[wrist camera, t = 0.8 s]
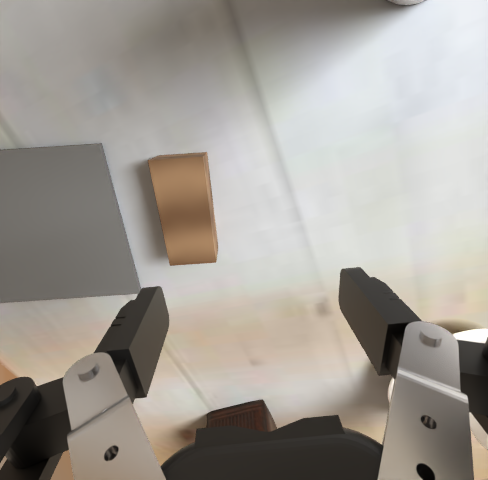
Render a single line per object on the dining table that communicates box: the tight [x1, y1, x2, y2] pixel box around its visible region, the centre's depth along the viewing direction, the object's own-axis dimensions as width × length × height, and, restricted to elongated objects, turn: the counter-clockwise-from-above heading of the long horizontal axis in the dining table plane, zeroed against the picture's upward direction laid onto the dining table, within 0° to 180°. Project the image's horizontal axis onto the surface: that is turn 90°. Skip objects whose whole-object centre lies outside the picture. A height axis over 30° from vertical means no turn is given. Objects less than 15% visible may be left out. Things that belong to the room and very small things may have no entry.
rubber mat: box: [0, 143, 141, 303], centre depth 30 cm, size 18×18×1 cm
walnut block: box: [148, 152, 218, 266], centre depth 28 cm, size 11×5×4 cm, turn 4°
